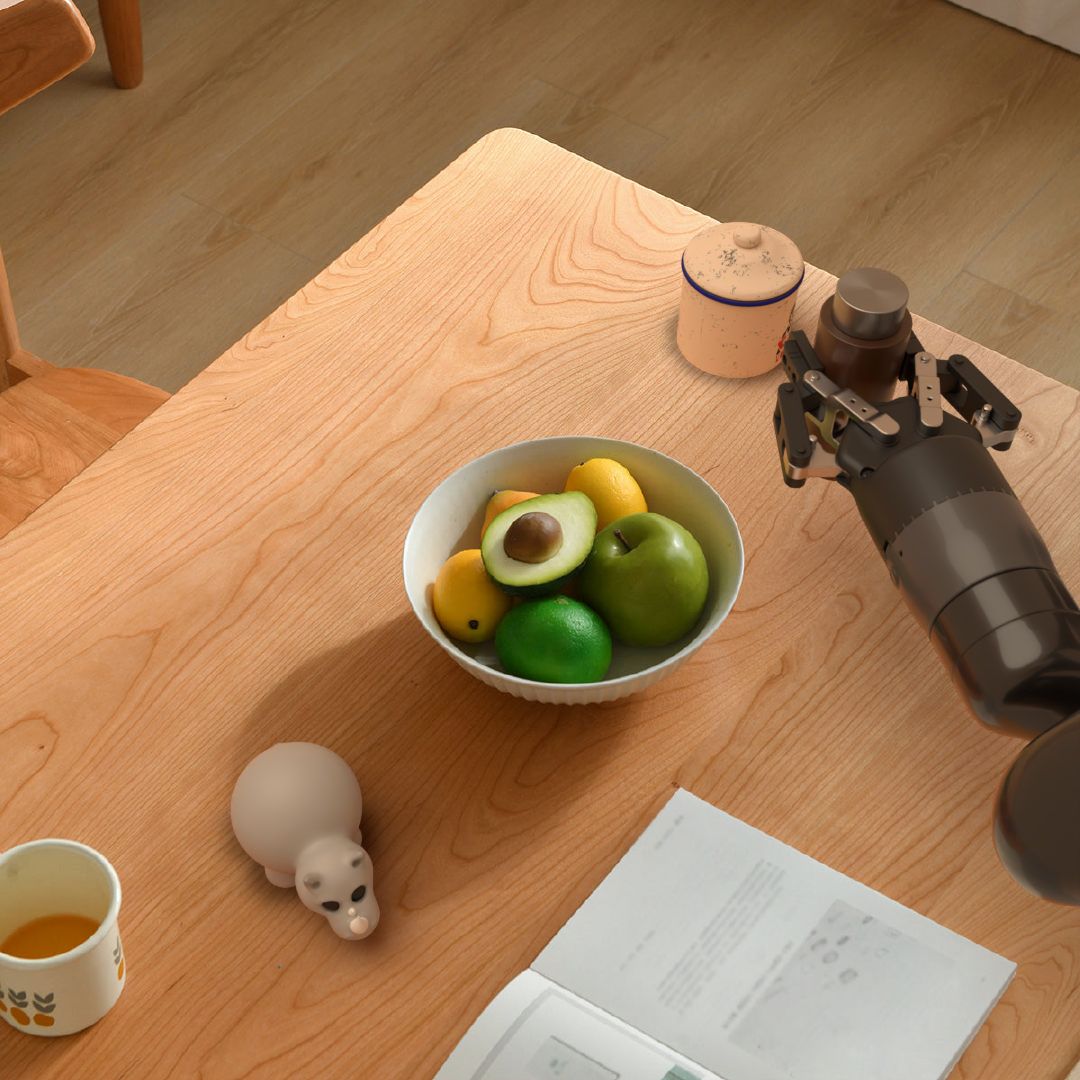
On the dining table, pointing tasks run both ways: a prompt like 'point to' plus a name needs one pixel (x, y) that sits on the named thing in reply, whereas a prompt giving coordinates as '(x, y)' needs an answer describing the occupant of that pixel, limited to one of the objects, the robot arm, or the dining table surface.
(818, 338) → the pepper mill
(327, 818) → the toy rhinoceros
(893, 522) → the robot arm
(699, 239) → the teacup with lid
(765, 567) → the dining table surface
